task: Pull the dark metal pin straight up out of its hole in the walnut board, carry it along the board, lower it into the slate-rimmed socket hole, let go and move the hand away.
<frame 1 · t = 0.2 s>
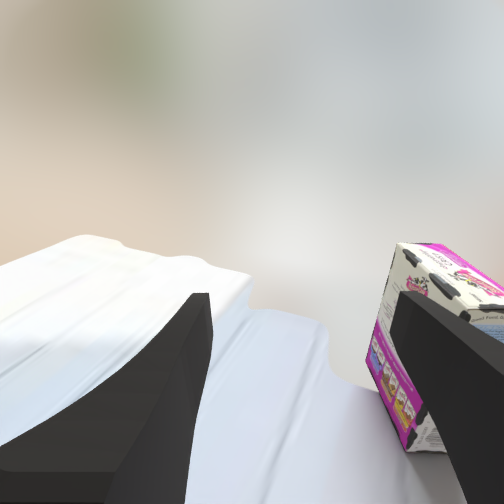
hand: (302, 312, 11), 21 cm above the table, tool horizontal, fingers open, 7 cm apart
candy bar box: (403, 401, 32), on the table
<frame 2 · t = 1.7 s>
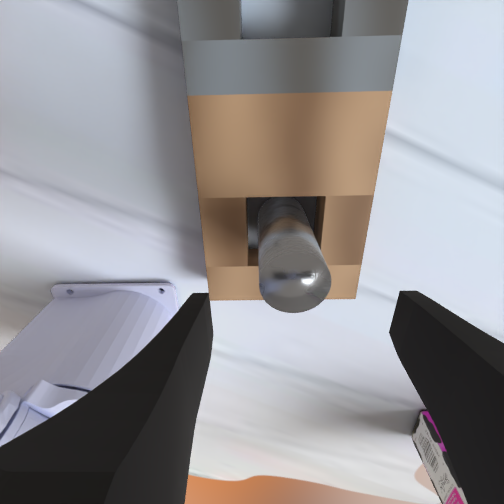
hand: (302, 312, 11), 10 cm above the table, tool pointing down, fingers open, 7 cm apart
dock board: (283, 122, 17), on the table
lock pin: (281, 218, 20), resting in dock board
candy bar box: (467, 420, 31), on the table
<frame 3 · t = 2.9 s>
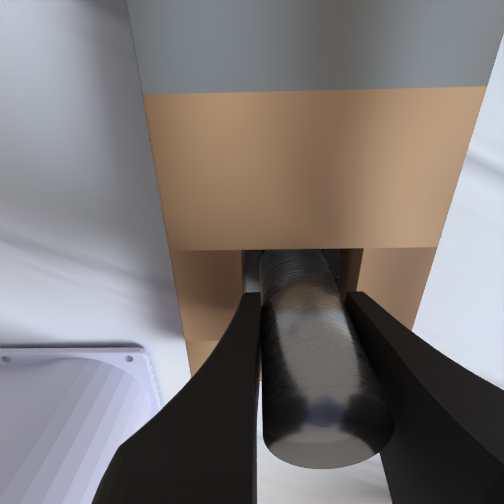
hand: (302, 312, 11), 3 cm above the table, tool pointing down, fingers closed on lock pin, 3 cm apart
dock board: (298, 135, 11), on the table
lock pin: (292, 267, 14), resting in dock board, touching gripper
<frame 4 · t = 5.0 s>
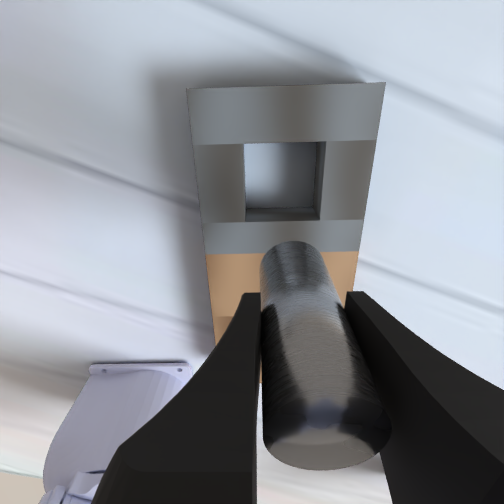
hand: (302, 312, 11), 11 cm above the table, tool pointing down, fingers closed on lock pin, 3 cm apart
dock board: (278, 254, 22), on the table
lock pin: (291, 270, 14), point 7 cm above the table, touching gripper
when the fingers open (4 cm above the table, at t = 7.0 s): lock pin stays where it is, resting in dock board.
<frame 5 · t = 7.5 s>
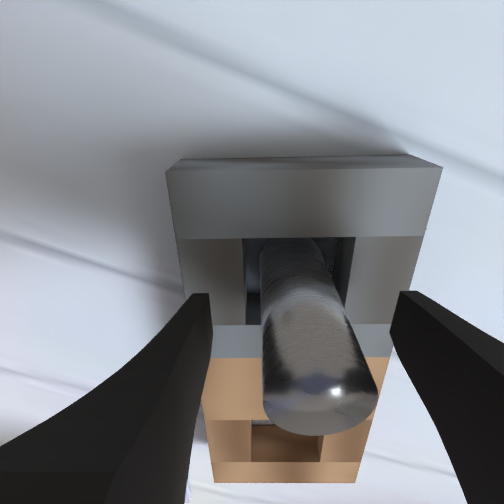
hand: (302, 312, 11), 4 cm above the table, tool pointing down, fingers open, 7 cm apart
dock board: (286, 343, 18), on the table
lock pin: (290, 260, 15), resting in dock board
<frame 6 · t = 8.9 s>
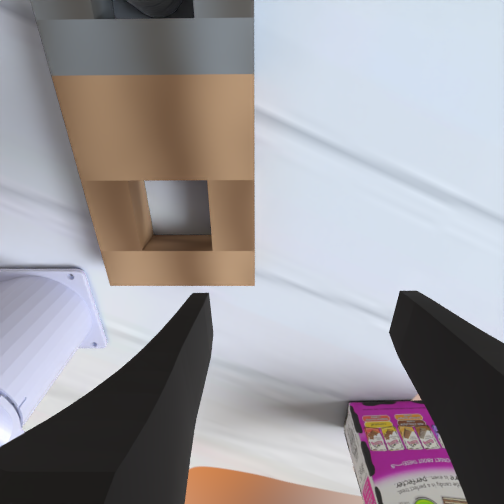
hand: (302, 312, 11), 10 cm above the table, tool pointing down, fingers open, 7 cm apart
dock board: (169, 107, 17), on the table
candy bar box: (397, 412, 31), on the table
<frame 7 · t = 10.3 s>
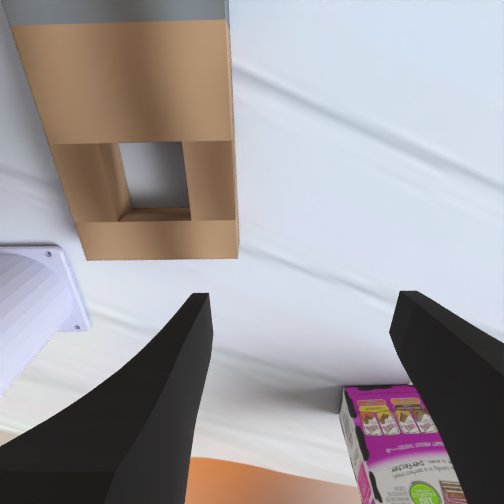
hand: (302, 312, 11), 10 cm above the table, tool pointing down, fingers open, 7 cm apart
dock board: (141, 65, 16), on the table
candy bar box: (394, 398, 30), on the table
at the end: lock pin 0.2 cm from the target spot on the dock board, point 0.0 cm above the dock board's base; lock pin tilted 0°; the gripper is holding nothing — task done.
